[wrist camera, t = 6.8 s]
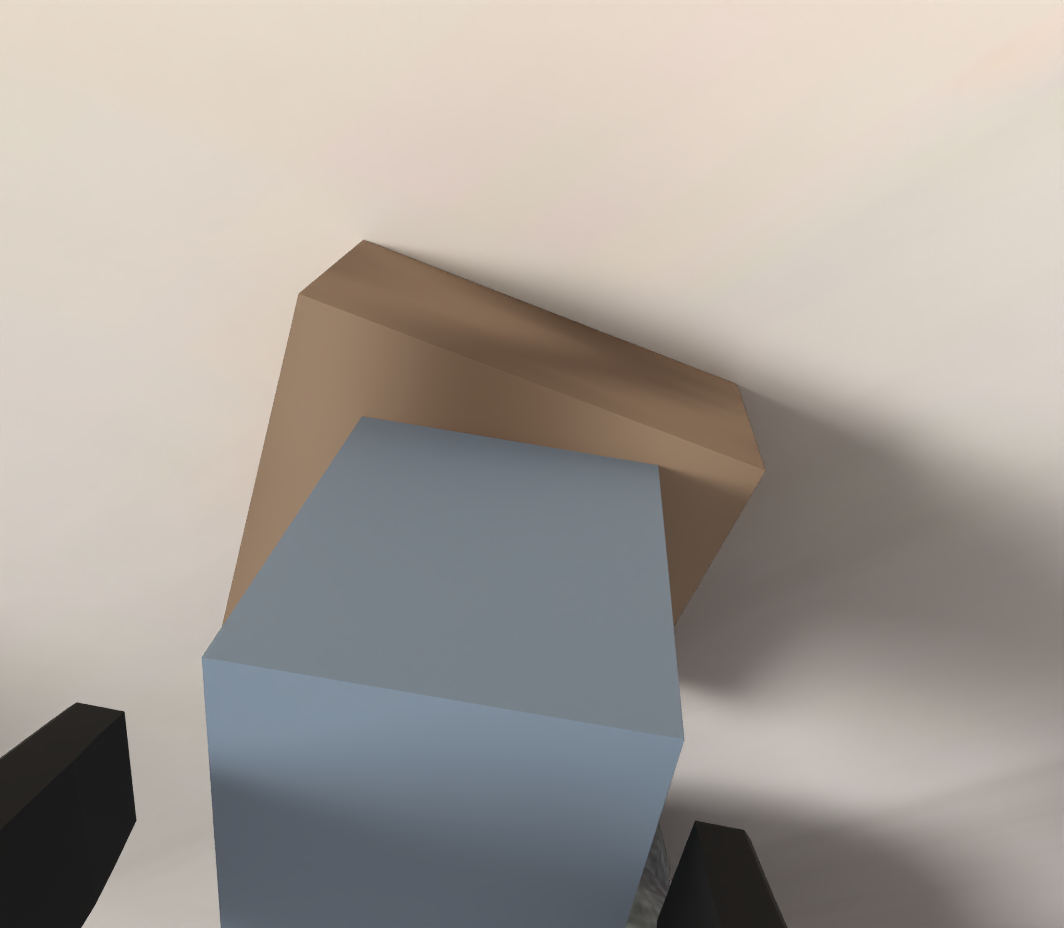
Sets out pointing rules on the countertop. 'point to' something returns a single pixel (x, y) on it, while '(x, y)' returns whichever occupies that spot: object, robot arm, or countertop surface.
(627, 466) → the slate block
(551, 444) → the walnut plinth
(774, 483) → the countertop surface
